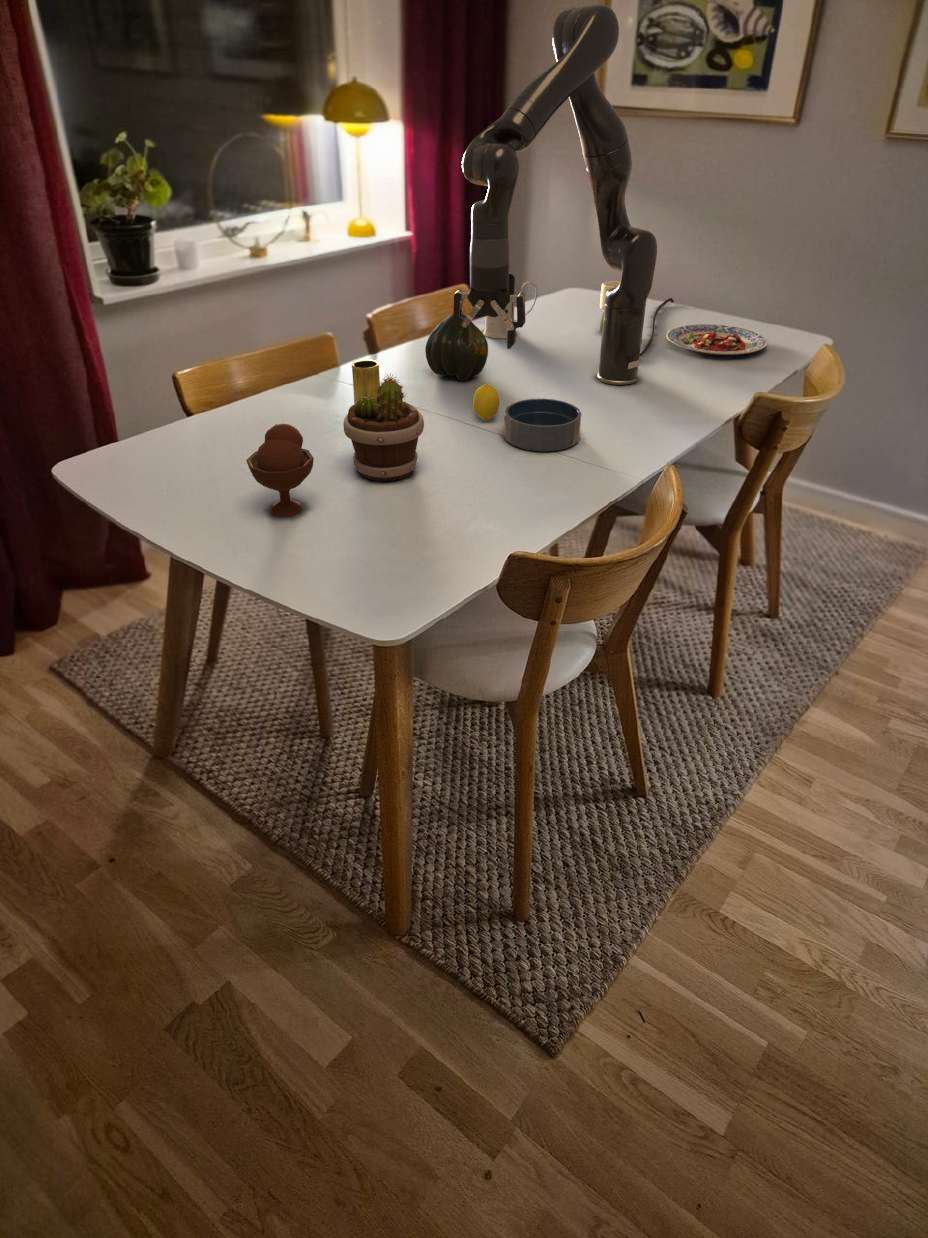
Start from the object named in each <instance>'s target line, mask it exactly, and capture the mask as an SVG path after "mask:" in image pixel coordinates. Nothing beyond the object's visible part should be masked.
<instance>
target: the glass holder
mask: <svg viewBox="0 0 928 1238" xmlns="http://www.w3.org/2000/svg"><path fill="white" fill-rule="evenodd" d="M528 284H529V285H533V287H534V288H535V297H534V301H533V303H532V304H531V307H530V309H529V310H527V312H525V317H526V316H527V315H528V314H530V312H531V311H532V310H533V308H534V306H535V304H536V301H537V297H538V288H537V285H536V284H535V283H533V282H532V281H526V282H524V283H523V284H522V285H521V287H520V291H519V294H520V293H523V289H524V287H525V286H526V285H528ZM515 286H516V276H515V274H513V273H509V293H510V295H515V289H516V287H515ZM506 307H507V308H508V310H509V311H510V313H511V316H512V317H513V319H514V320H515V308H516V307H515V306H514V305H513V302H512V301H510V302H509V303H508V305H507V306H506ZM484 322H485V323H484V331H483V332H482V333H483V334H484V336H485V337H487V338H491V339H507V330H508V329H509V328H508V327H507V326H506V324H505V323H504V322H503V321H502V320H501V318H500V317H499V316H496V317H490V316H485V318H484Z"/></svg>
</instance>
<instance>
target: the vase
mask: <svg viewBox="0 0 928 1238" xmlns="http://www.w3.org/2000/svg"><path fill="white" fill-rule="evenodd" d="M351 374H352V388H353V389H352V390H353V405H354V404H357V402H356V401H357V400H359V399H361V398H364V396H365V393H366V394H367V392H368V394H367V396H368V397H370V396H371V397H370V398H372V397H373V396H374V395H376V396H377V394H378V393H375V392H377V391H376V390H375V388H378V387H379V384H380V383H381V379H380V378H381V377H380V366H379V362H378V361H377V360H373V359H361V360H360V359H359V360H356V361H354V362H352V363H351ZM379 381H380V382H379ZM375 385H376V387H375ZM380 385H381V384H380ZM377 386H378V387H377ZM373 389H374V390H373ZM374 391H375V392H374ZM363 394H364V395H363ZM369 394H370V395H369ZM359 396H361V397H359ZM358 397H359V399H358ZM365 397H366V396H365ZM373 399H374V398H373ZM354 400H356V401H354Z"/></svg>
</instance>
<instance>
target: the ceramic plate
mask: <svg viewBox="0 0 928 1238" xmlns="http://www.w3.org/2000/svg"><path fill="white" fill-rule="evenodd" d="M666 339H667V340H668V341H669V342H670V343H672V344H673V345H675V346H677V347H680V348H682V349H685V350H688V351H691V352H694V353H698V354H702V355H707V356H718V357H720V356H721V357H723V356H724V357H725V356H728V357H729V356H736V355H744V354H745V355H746V354H751V353H756V352H759V351H761V350H764V349H765V348H766V347H767V345H768V344H769V343H768V339H767V338H766V337H765V336H764V335H762V334H760V333H758V332H757V331H754V330H750V329H747V328H743V327H739V326H735V325H734V326H733V325H726V324H717V323H716V324H715V323H714V324H713V323H697V324H696V323H695V324H686V325H680V326H677V327H674V328H671V329H669V331H667V333H666Z"/></svg>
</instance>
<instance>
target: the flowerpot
mask: <svg viewBox="0 0 928 1238" xmlns="http://www.w3.org/2000/svg"><path fill="white" fill-rule="evenodd" d="M393 376H394V374H392V372H390V374H386V375H384V378H382V380H380V381H379V382H380V384H379V387H378V386H377V387H378V388H375V390H376V391H377V392H375V391H374V392H375V393H378V394H377V396H376V395H374V396H373V397H372V398H370V397H371V396H370V397H368V396H367V394H368V392H367V394H366V393H365V396H366V397H365V396H364V398H361V399H359V397H361V396H359V397H358V399H359V400H357V401H356V400H354V399H353V402H354V401H356V402H357V404H354V403H353V404H352V405H350V407H349V408H348V410H347V411H348V412H347V414H346V415H345V417H344V419H343V424H342V425H343V433H344V435H345V436H346V437H347V438H348V439H349V440H351V444H352V447H353V450H354V454H353V456H352V459H353V463H354V468H355V469H356V470H357V471H358V472H359V473H360V474H361V475H362V477H363V478H365V479H368V480H371V481H374V482H375V481H376V482H390V481H396V480H403V479H405V478H407V477H408V476H410V475H411V474H412V472H413V470H414V469H415V468H416V466H417V462H418V458H419V457H418V456H419V455H418V452H417V446H418V442H419V441H418V440H419V437H420V436H421V435H422V434H423V432H424V429H425V420H424V416H423V414H422V412H420V411H419V410H418V409H417V408H416V407H415V406H413V405H412V404H410V403H408V402H406V401H404V400H406V399H407V398H408V393H406V391H405V390H406V387H404V385H402V382H399V381H400V379H397V378H396V376H394V377H393ZM400 383H401V384H400ZM375 387H376V385H375ZM373 390H374V389H373ZM363 395H364V394H363ZM369 395H370V394H369ZM406 395H407V396H406ZM373 398H374V399H373Z"/></svg>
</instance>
